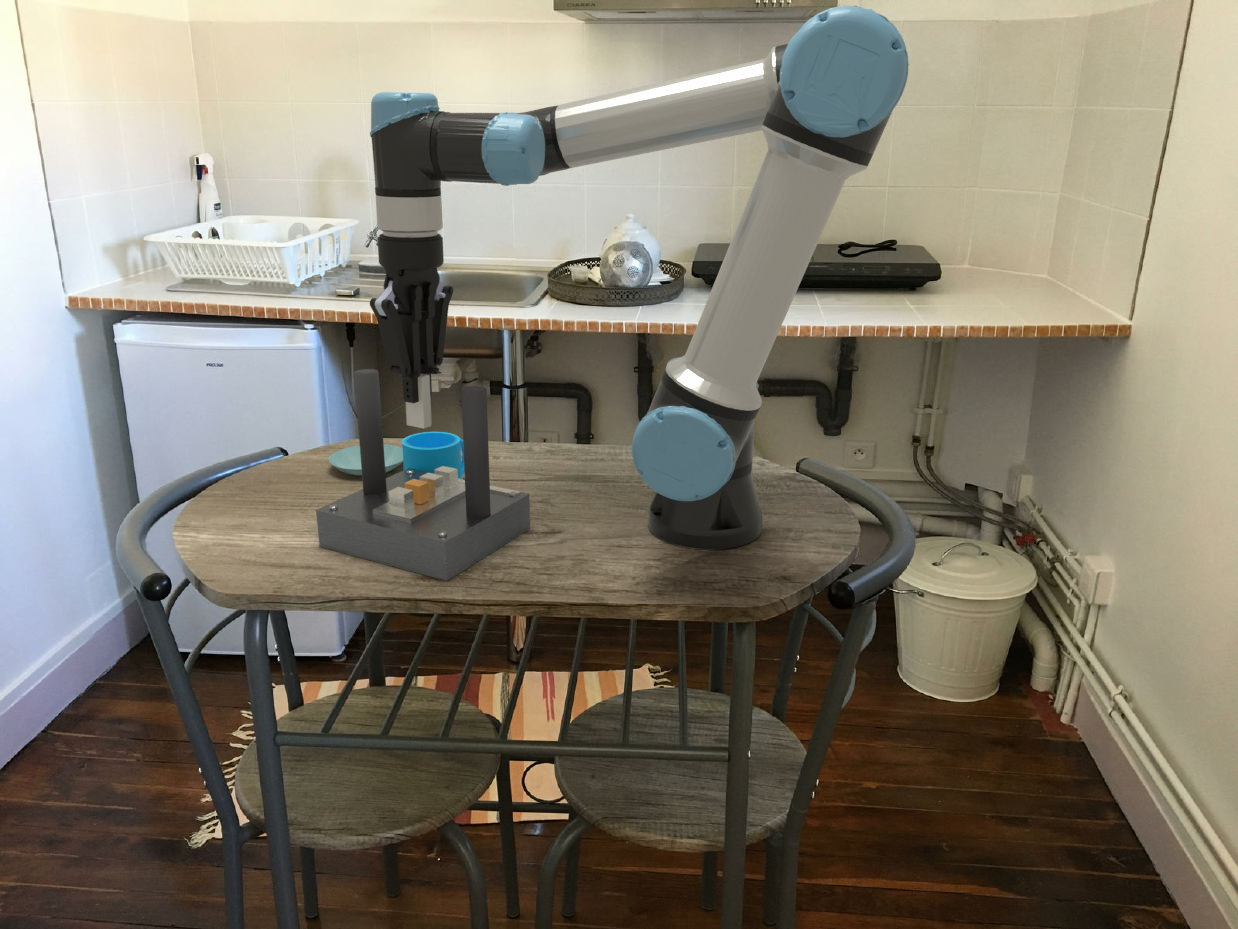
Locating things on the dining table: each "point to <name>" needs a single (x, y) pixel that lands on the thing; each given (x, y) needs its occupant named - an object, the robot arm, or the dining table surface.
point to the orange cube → (418, 490)
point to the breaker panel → (422, 524)
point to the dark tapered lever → (476, 451)
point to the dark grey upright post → (370, 431)
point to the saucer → (351, 459)
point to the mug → (433, 452)
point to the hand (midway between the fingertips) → (419, 425)
